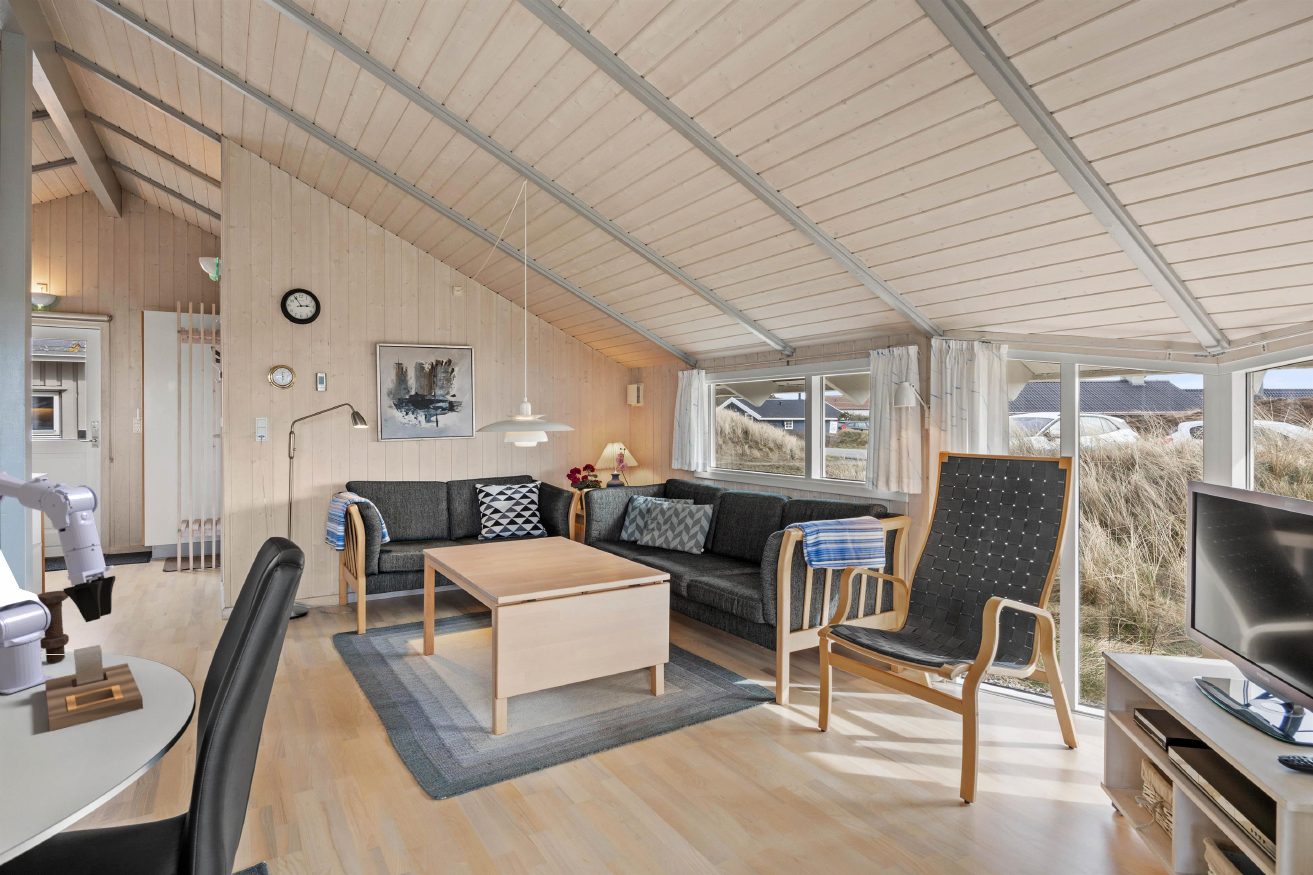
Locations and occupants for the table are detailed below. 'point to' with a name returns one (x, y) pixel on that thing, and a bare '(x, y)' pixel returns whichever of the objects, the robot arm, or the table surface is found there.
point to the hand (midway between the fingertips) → (99, 617)
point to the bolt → (54, 626)
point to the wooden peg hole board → (91, 697)
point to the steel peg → (88, 665)
